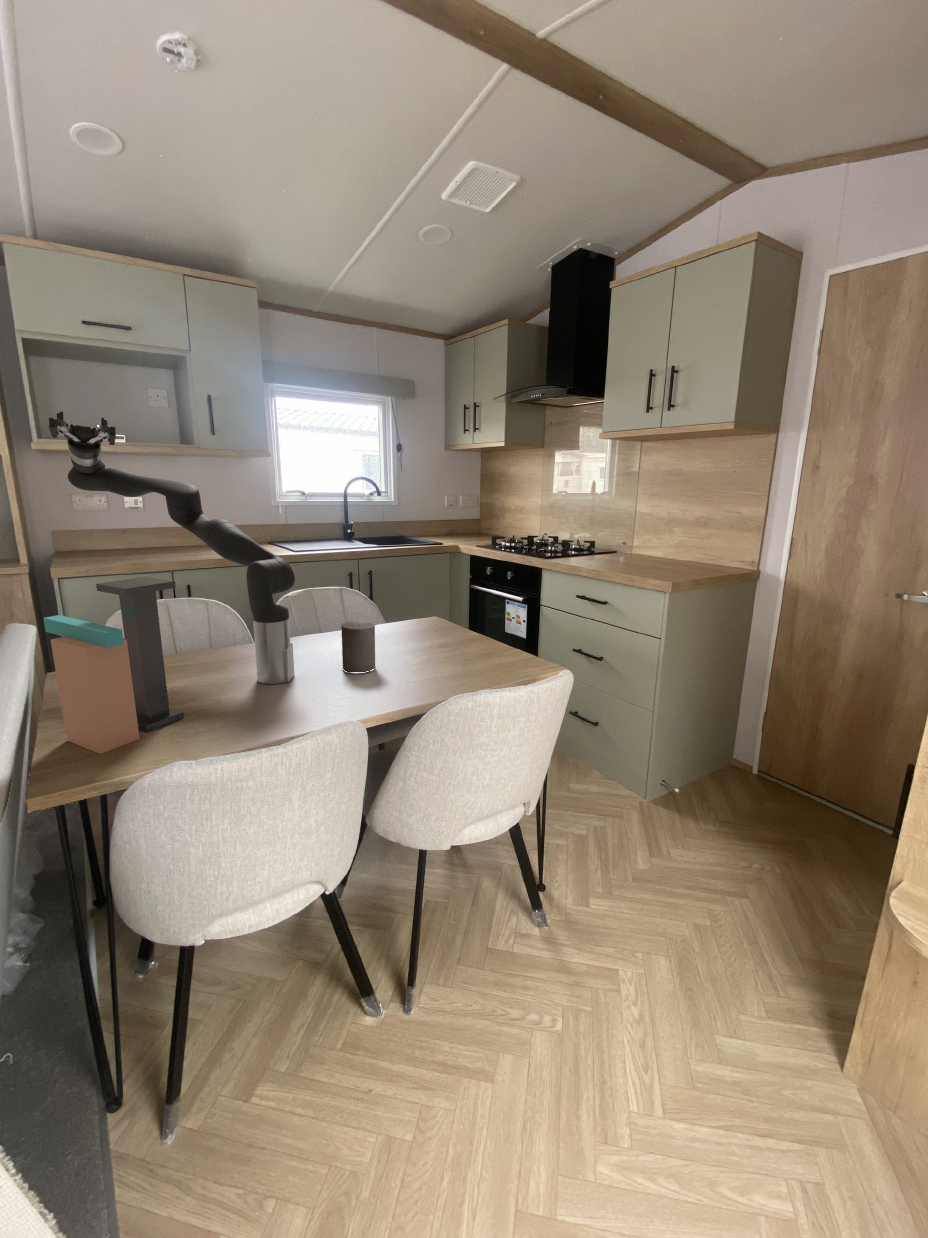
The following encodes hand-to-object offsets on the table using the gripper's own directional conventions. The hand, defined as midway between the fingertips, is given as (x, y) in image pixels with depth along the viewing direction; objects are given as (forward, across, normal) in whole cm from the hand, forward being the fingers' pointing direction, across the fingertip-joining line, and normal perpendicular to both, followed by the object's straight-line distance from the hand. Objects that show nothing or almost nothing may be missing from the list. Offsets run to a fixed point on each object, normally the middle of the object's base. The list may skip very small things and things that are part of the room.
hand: (82, 417), depth 139 cm
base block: (+13, -3, -80) cm, 81 cm away
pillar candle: (0, -67, -68) cm, 95 cm away
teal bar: (+20, 0, -60) cm, 63 cm away
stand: (+9, -13, -77) cm, 79 cm away
